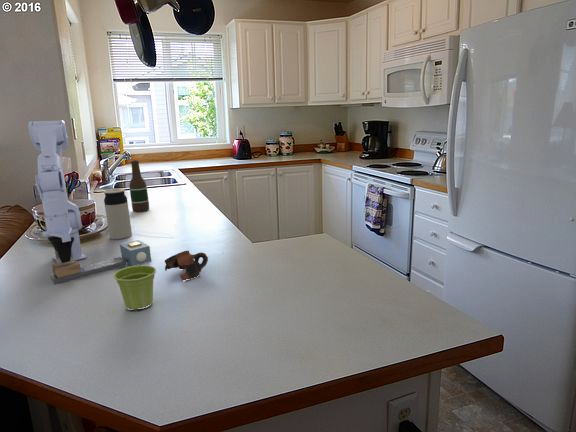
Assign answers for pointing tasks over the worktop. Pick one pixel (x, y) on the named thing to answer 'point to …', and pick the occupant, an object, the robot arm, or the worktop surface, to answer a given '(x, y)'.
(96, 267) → the rail
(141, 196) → the beer bottle
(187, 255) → the pottery mug
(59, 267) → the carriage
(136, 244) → the button
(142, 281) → the plant pot
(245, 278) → the worktop surface
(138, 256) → the blue grey control box
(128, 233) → the travel mug
